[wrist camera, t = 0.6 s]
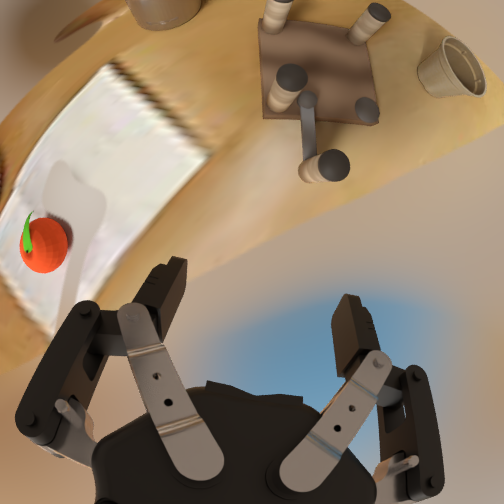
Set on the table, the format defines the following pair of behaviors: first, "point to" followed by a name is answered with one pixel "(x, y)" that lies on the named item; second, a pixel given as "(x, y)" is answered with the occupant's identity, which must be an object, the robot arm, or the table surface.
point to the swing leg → (316, 166)
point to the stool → (318, 65)
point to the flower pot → (452, 71)
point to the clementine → (43, 244)
